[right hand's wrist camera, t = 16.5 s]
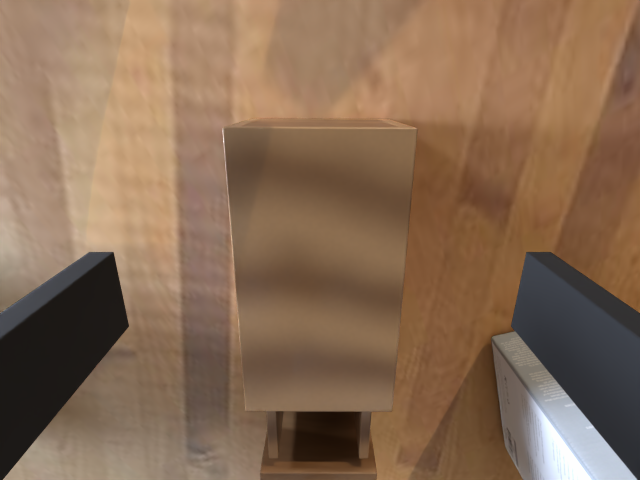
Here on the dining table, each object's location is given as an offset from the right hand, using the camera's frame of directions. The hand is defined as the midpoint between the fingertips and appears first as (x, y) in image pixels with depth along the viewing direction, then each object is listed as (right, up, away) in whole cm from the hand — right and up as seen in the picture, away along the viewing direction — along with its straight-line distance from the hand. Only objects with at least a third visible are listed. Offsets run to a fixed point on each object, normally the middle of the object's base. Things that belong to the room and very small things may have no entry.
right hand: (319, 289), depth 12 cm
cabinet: (0, +2, +23) cm, 23 cm away
